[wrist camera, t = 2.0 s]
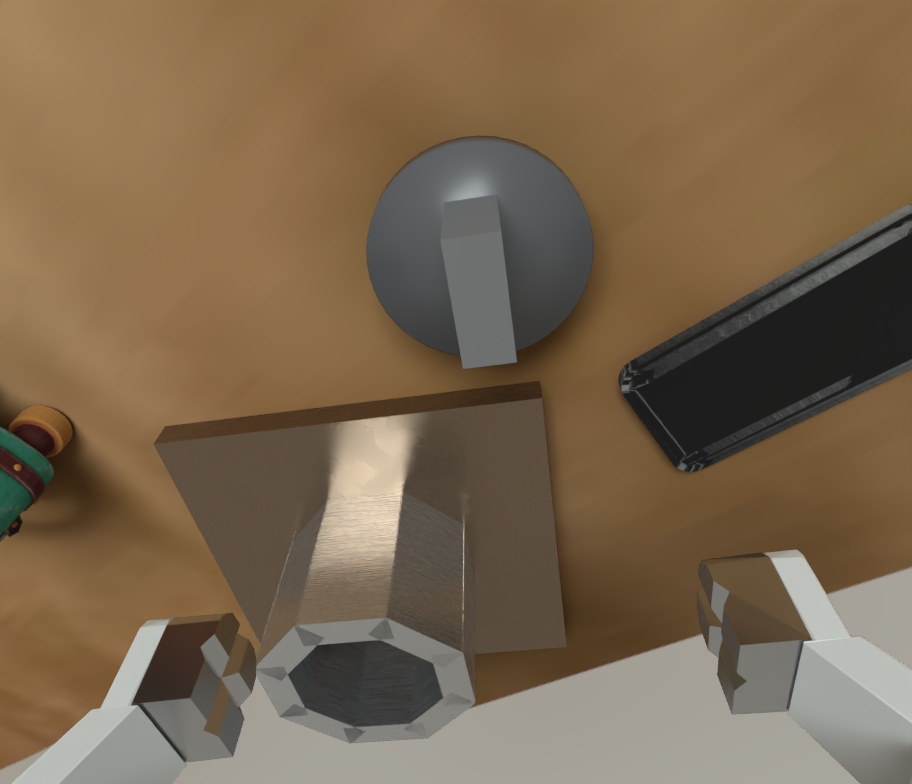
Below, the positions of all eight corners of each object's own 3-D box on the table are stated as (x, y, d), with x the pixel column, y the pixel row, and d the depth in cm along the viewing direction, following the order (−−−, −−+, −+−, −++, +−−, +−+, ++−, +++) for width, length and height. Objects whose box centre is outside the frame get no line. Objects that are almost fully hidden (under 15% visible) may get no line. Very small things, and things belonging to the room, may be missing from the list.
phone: (612, 380, 31) (939, 197, 26) (608, 368, 32) (923, 190, 27) (684, 479, 34) (985, 335, 29) (678, 466, 35) (969, 324, 30)
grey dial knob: (576, 107, 25) (609, 150, 19) (586, 312, 30) (614, 395, 24) (353, 144, 26) (319, 195, 20) (399, 336, 31) (382, 422, 25)
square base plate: (539, 381, 32) (562, 517, 24) (563, 627, 43) (585, 776, 35) (165, 426, 34) (72, 566, 26) (280, 650, 45) (239, 796, 37)
